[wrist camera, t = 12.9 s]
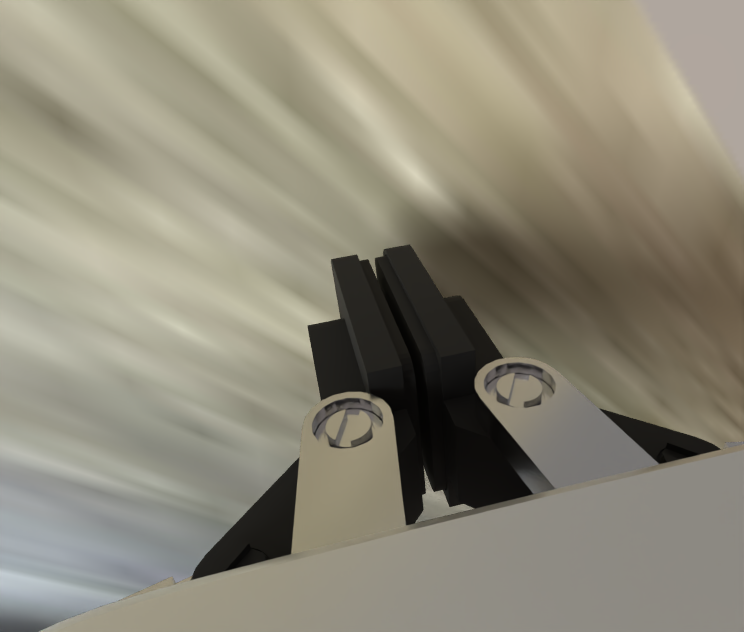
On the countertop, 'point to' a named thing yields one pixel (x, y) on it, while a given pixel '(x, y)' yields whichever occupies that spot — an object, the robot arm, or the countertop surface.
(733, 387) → the countertop surface
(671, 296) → the countertop surface
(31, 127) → the countertop surface
